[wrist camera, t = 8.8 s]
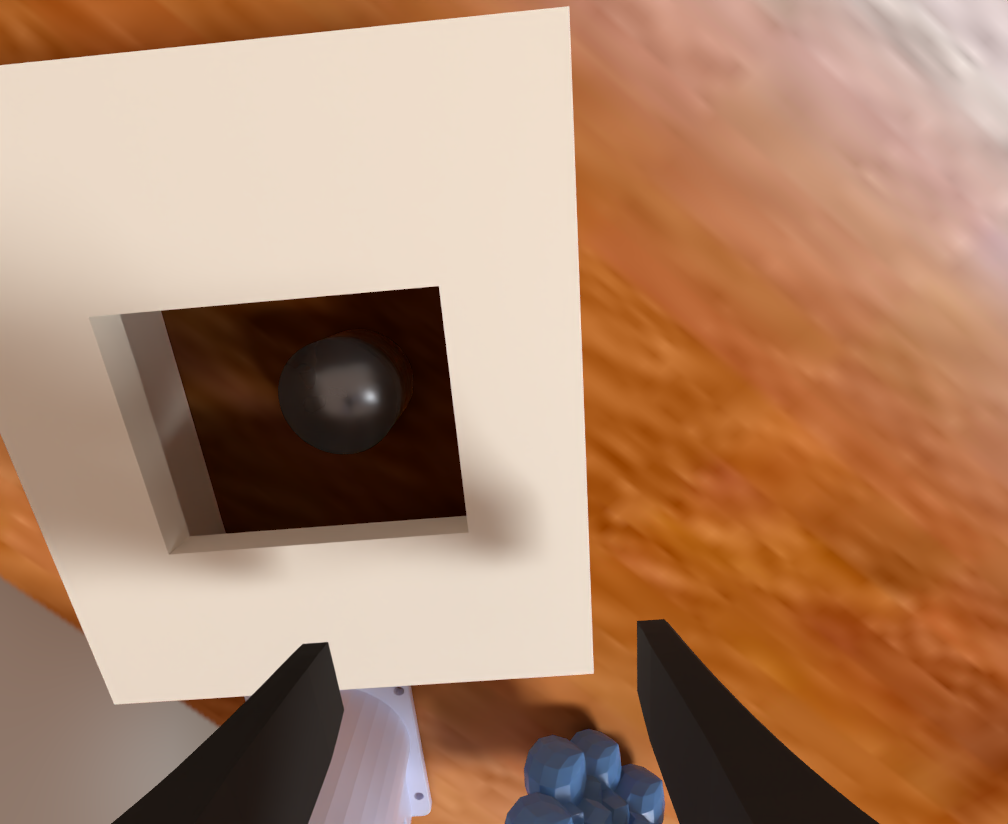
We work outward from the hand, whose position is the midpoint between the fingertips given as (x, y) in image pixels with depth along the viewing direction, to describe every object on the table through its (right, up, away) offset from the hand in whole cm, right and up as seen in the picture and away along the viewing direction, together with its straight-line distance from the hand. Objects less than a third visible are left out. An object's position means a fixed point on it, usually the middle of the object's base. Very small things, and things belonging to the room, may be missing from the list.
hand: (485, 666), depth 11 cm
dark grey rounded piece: (-5, +7, +8) cm, 12 cm away
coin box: (-5, +7, +8) cm, 12 cm away
